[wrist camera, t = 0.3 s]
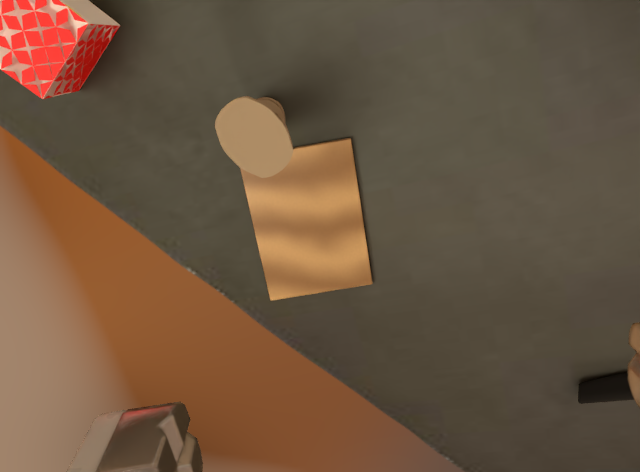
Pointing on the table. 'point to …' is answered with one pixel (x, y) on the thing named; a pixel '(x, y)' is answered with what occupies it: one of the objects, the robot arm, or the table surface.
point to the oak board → (310, 222)
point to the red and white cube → (52, 43)
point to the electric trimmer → (605, 389)
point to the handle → (255, 135)
